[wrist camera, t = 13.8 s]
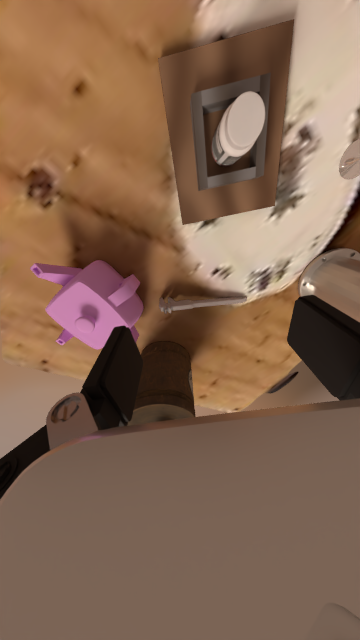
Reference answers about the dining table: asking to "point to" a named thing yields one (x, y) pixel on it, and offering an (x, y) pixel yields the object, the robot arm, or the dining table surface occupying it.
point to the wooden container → (164, 385)
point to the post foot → (207, 111)
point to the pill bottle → (238, 129)
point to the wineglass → (351, 161)
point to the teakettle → (92, 301)
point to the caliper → (197, 303)
